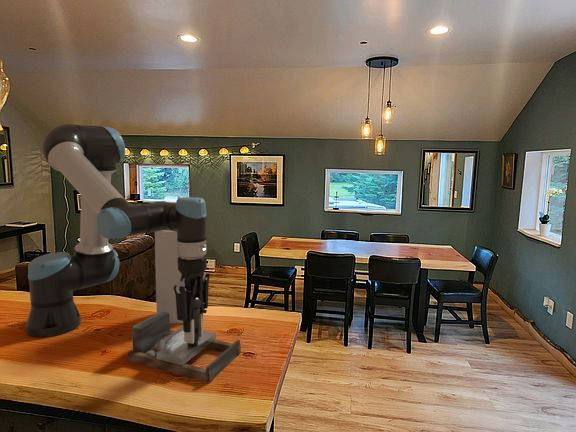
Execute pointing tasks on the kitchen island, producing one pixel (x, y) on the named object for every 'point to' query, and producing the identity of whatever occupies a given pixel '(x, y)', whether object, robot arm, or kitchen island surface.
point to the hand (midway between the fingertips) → (193, 338)
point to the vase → (167, 273)
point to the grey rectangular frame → (145, 340)
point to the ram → (183, 351)
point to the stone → (157, 345)
